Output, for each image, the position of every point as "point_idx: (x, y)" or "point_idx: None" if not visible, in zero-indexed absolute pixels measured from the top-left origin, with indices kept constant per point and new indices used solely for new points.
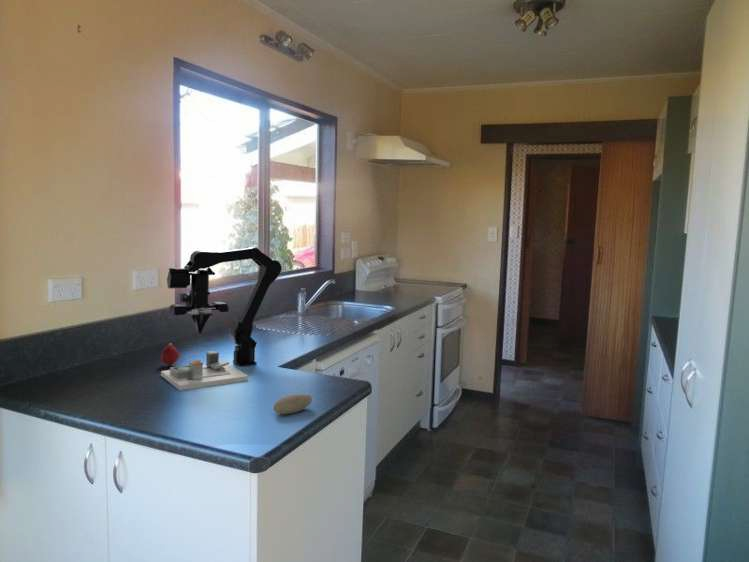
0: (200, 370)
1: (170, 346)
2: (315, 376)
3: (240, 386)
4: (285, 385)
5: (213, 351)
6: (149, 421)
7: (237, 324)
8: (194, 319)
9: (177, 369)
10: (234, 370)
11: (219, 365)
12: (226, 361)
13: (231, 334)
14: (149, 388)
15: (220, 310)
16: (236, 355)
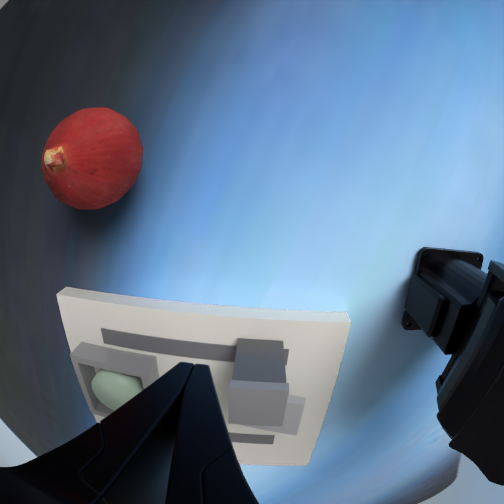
0: None
1: (55, 176)
2: (444, 456)
3: (259, 473)
4: (349, 488)
5: (268, 401)
6: None
7: (494, 470)
8: (72, 483)
9: (92, 389)
10: (310, 420)
11: (255, 427)
12: (296, 425)
13: (479, 361)
14: (44, 375)
15: None
16: (420, 326)
